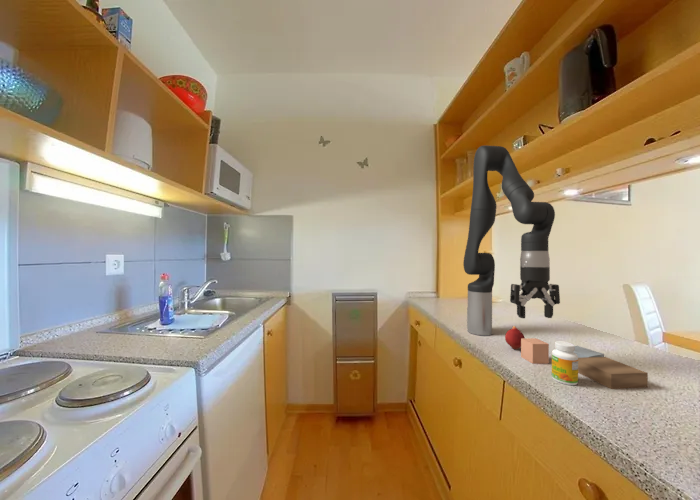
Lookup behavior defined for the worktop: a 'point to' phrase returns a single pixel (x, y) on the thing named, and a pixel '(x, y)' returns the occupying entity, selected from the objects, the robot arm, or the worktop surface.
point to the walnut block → (612, 373)
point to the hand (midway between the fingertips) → (534, 317)
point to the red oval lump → (514, 337)
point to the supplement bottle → (565, 363)
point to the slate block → (586, 352)
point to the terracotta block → (535, 351)
